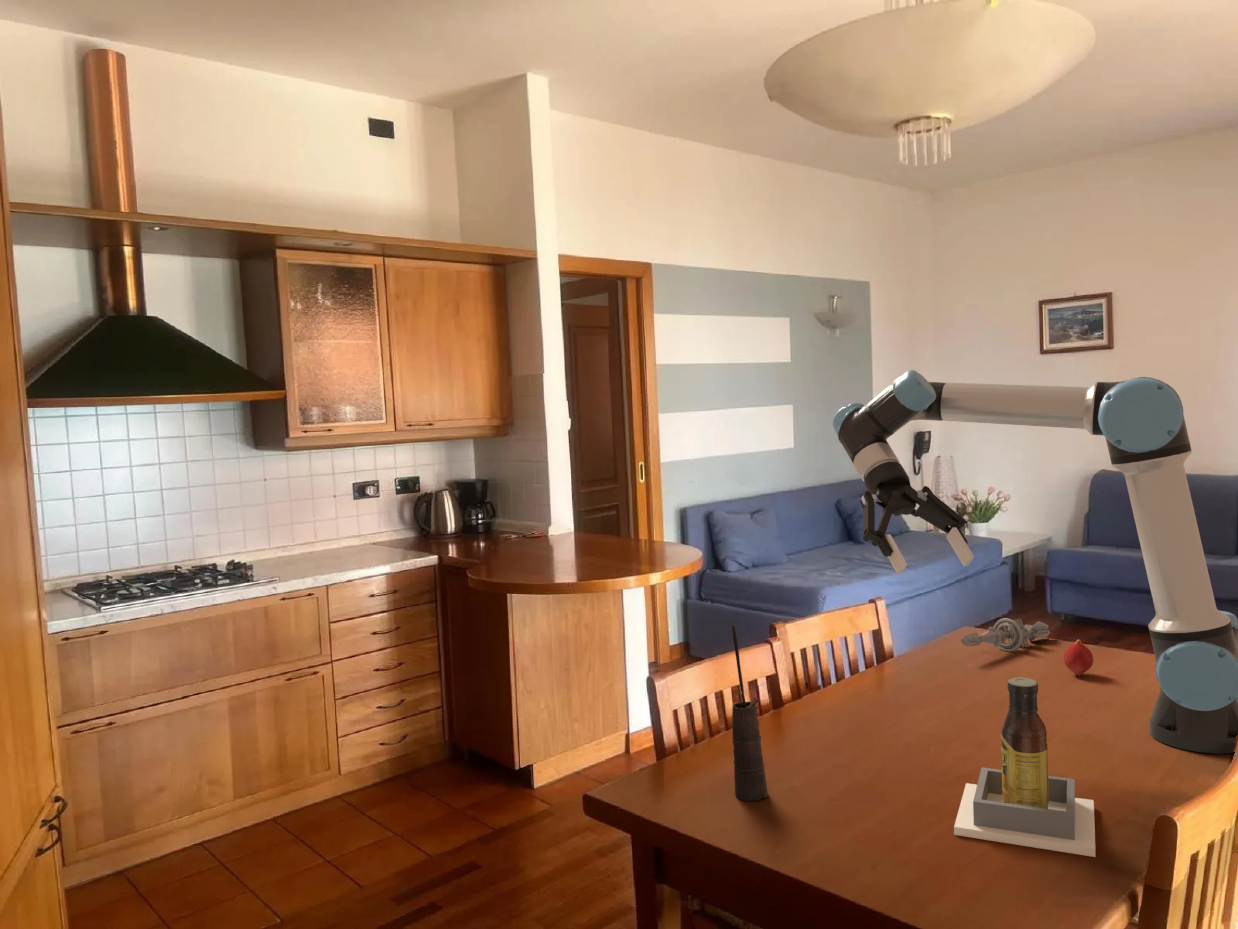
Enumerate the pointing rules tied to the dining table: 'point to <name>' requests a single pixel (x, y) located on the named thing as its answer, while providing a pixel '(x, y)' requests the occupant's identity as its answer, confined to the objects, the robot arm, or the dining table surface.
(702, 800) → the dining table surface
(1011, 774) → the sauce bottle
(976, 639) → the spaceship
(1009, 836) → the bottle stand
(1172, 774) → the dining table surface
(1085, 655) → the onion
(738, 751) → the butter churn
